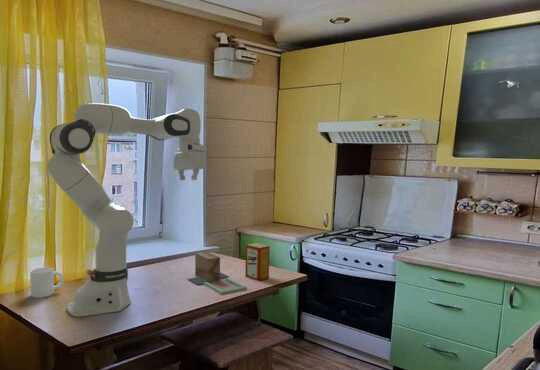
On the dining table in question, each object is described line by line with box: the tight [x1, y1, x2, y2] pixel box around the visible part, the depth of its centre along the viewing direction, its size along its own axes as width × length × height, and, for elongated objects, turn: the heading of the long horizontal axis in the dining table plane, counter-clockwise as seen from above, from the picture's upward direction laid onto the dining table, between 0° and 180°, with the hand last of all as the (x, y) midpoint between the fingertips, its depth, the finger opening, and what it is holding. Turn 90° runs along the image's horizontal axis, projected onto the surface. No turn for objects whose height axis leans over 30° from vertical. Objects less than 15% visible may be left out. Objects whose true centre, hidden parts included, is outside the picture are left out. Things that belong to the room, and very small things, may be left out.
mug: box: [29, 266, 64, 299], centre depth 171 cm, size 12×8×10 cm
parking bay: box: [203, 277, 248, 295], centre depth 185 cm, size 13×16×1 cm
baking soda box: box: [244, 242, 270, 282], centre depth 199 cm, size 10×6×16 cm
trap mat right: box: [220, 272, 229, 280], centre depth 202 cm, size 5×10×1 cm, turn 37°
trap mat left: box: [187, 276, 206, 286], centre depth 191 cm, size 5×10×1 cm, turn 37°
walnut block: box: [194, 251, 221, 284], centre depth 197 cm, size 6×13×11 cm, turn 37°
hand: (188, 180), depth 177 cm, fingers open, 8 cm apart
